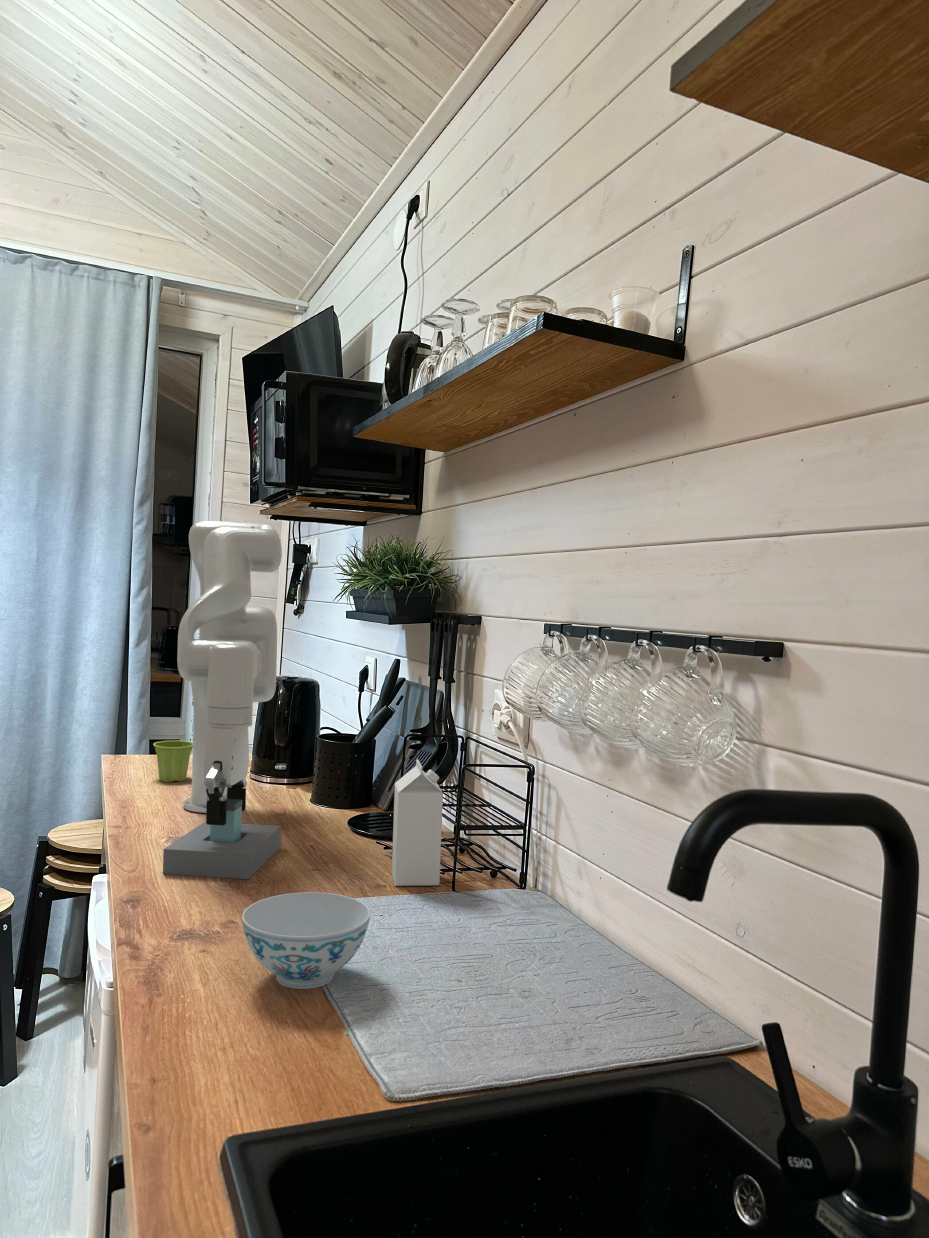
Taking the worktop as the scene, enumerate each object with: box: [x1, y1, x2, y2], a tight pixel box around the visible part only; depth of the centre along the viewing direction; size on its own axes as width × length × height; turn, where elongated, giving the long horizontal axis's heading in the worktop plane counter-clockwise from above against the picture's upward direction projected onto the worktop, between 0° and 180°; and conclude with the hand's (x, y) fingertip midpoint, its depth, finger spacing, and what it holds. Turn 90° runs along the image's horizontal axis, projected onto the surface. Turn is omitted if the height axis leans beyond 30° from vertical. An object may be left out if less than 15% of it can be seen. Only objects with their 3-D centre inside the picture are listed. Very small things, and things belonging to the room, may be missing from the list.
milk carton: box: [391, 759, 444, 887], centre depth 144 cm, size 7×7×19 cm
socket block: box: [162, 820, 282, 880], centre depth 151 cm, size 18×14×4 cm
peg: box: [210, 799, 243, 843], centre depth 151 cm, size 4×4×10 cm
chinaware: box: [241, 891, 371, 990], centre depth 106 cm, size 15×15×8 cm
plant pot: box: [152, 740, 193, 783], centre depth 214 cm, size 9×9×9 cm
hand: (226, 817), depth 151 cm, fingers open, 9 cm apart
